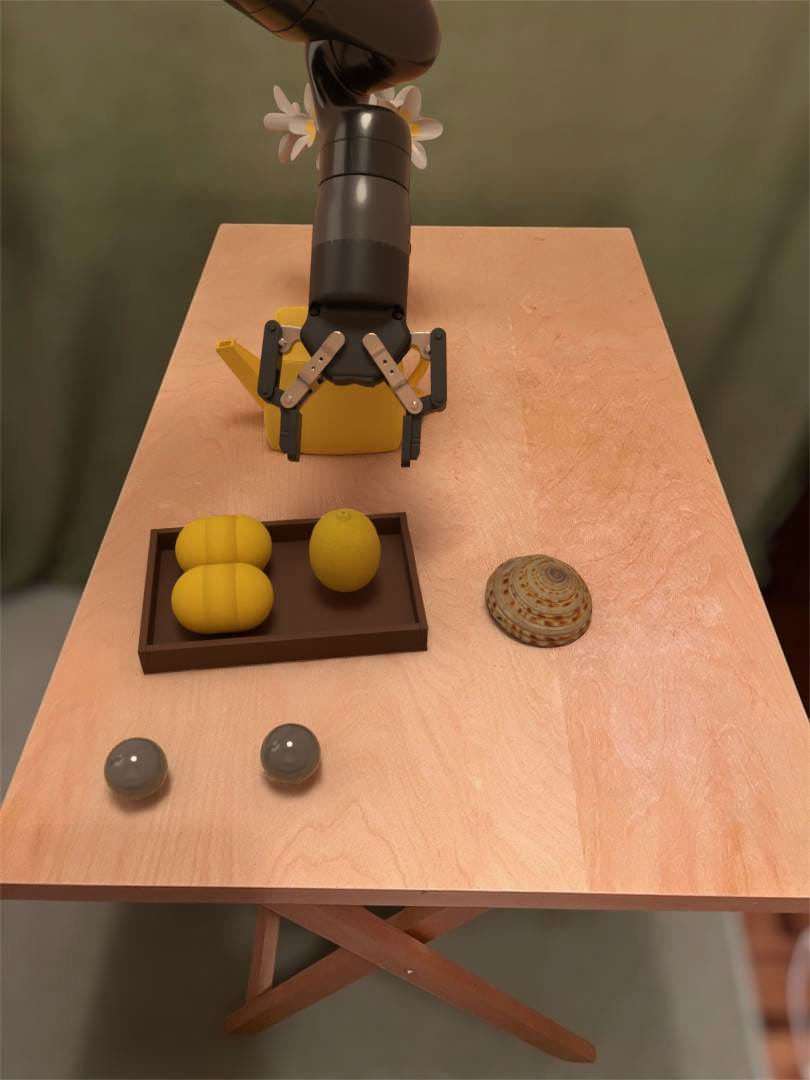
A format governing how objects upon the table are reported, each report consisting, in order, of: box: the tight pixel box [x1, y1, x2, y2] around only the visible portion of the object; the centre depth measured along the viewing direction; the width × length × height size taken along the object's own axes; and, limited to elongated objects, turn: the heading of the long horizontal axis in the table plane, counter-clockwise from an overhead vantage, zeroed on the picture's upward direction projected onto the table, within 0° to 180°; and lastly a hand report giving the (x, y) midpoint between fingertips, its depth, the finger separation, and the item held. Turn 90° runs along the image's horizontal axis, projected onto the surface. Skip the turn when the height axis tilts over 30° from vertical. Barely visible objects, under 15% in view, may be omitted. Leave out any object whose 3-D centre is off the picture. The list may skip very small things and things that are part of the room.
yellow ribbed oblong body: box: [171, 563, 274, 634], centre depth 69 cm, size 8×5×5 cm
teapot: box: [215, 305, 430, 456], centre depth 87 cm, size 20×12×12 cm, turn 92°
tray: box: [137, 511, 429, 675], centre depth 72 cm, size 21×13×3 cm, turn 97°
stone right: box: [259, 722, 322, 786], centre depth 60 cm, size 4×4×4 cm
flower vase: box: [263, 82, 444, 171], centre depth 99 cm, size 13×18×25 cm
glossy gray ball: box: [103, 736, 169, 801], centre depth 59 cm, size 4×4×4 cm
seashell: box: [485, 553, 593, 647], centre depth 73 cm, size 8×6×8 cm
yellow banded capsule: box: [175, 514, 272, 572], centre depth 73 cm, size 8×5×5 cm
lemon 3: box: [309, 507, 381, 592], centre depth 71 cm, size 6×6×8 cm
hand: (349, 463), depth 69 cm, fingers open, 8 cm apart
